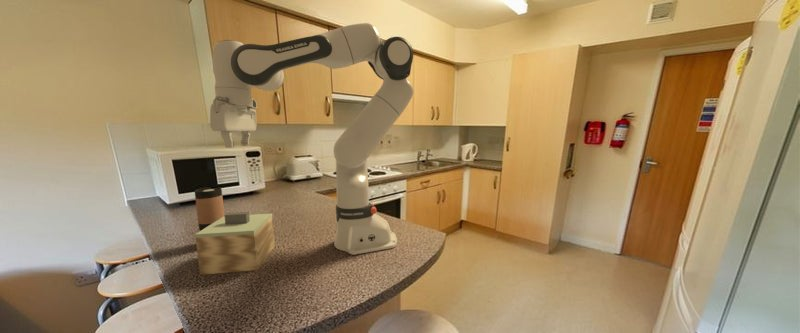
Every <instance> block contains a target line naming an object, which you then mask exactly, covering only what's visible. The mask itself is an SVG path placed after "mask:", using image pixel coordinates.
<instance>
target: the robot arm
mask: <svg viewBox="0 0 800 333" xmlns="http://www.w3.org/2000/svg"><path fill="white" fill-rule="evenodd" d="M413 59H414V50H413V47H412V44H411V43H410V42H409V40H407V39H406V38H404V37H402V36H391V37H389V38H387V39H386V40H383V39H382V38H381V36H380V33H379V31H378V30H377V28H376V27H375V25H373V24H371V23H369V22H364V23H361V22H360V23H354V24H349V25H345V26H341V27H338V28H334V29H331V30H329V31H326V32H325V31H324V32H323V33H318V34H314V35H311V36H305V37H301V38H295V39H292V40H288V41H284V42H279V43H275V44H268V45H267V44H264V45H261V44H256V43H247V44H245V43H243V42H241V41H238V40H232V39H226V40H225V39H224V40H220V41H218V42H216V43H215V44H214V47H213V50H212V70H213V71H212V73H213V75H214V77H215V84H214V94H215V98H214V99H213V100H212V103H211V105H210V108H209V110H210V112H209V120H210V121H209V123H210V128H211V130H212V131H214V132H220V135H221V138H222V140H223V142H224V147H225V148H226V149H230V148H231V149H232V148H234V147H235V141H234V140H233V138H232V136H233V132H240V134H241V140H240V145H241V147H244V146H245V147H246V146H249V145H250V137H251V132H256V130H257V125H258V124H257V122H258V121H257V111H256V109H258V104H257V103H258V102H257V101H256V100H255V99H254V98H253V95H252V90H251V89H253V88H256V89H260V90H263V91H266V92H267V91H268V92H269V91H277V90H278V89H280V87H282V85H283V84H284V82H285V74H284V71H285V70H289V69H292V68H296V67H299V66H304V65H307V64H319V65H322V66H325V67H327V68H329V69H331V70H332V69H334V70H338V69H343V68H347V67H350V66H353V65H357V64H359V63H362V62H367V63H368V65H369V67H370V68H371V69H372V71H373V72H374V74H376V76H377V77H378V78H379V79H381V80H383V81H382V85H381V87H380V88H379V89H378V90H377V92H375V94H374V95H373V96H372V98H371V99H370V100H369V102H367V103H366V104H365V106H364V107H363V108H362V109H361V111H360V112H359V113H358V114H357V116H355V118H354V120H352V122H351V123H350V124H349V126H347V128H345V130H344V132H343V133H342V134H341V135H339V138H337V140H336V142H335V143H334V146H333V155H334V158H335V164H336V168H335V169H336V171H335V172H336V173H335V176H336V177H335V180H336V182H335V184H336V186H335V187H336V206H335V218H336V223H337V224H336V233H335V238H334V242H333V244H334V245H333V246H334V247H335V248H336V249H338V250H339V251H343V252H346V253H347V254H348V255H349V254H350V255H352V256H353V255H361V254H365V253H372V252H377V251H382V250H389V249H393V248H395V247H397V245H398V238H397V235H396V233H395V232H393V231H392V230H391V227H390V224H389V223H388V221H387V220H386V219H385V218H383V217H382V216H380V215H379V214H377V207H376V206H375V205H374V203H373V202H372V203H371V202H370V198H369V197H370V196H369V195H370V194H369V174H368V173H369V172H368V158H369V157H370V156H371V155H372V153H373V151H374V150H375V149H376V148H377V146H378V145H379V143H380V142H381V141H382V139H383V138H384V137H385V135H386V134H387V133H388V132H389V130H390V129H391V127H392V126H393V125H394V124H395V122H396V121H397V120H399V118H400V116H401V115H402V114H403V112H404V111H405V110H406V108H407V106H408V105H409V103H410V102H411V100H412V98H413V95H414V88H413V85H412V83H411V82H410V81H409V80H408V79H407V78H409V77H410V75H411V70H412V65H413V61H414V60H413Z"/></svg>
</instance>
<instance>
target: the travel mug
mask: <svg viewBox="0 0 800 333" xmlns="http://www.w3.org/2000/svg"><path fill="white" fill-rule="evenodd" d="M222 191H223V190H222V187H220V186H217V187H216V188H211V187H203V188H198V189H196V190H194V196H195V206H196V207H195V208H196V215H197V224H198V229H199V232H200V231H201V230H203V229H204V228H206V227H208V226H209V225H211V224H212V223H214V222H216V221H217V220H219V219H220V218H222V217H224V215H225V214H226V213H225V207H224V198H223V192H222Z"/></svg>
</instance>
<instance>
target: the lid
mask: <svg viewBox="0 0 800 333" xmlns="http://www.w3.org/2000/svg"><path fill="white" fill-rule="evenodd" d="M224 214H225V215H224V217H222V218H220V219H219V220H217V221H216V222H214V223H212V224H211V225H209V226H208V227H206V228H204V229H203V230H201V231H200V230H199V231H198V232H197V233H195V234H194V239H195V238H200V237H216V236H231V235H246V234H255V233H256V232H257V231H258V230H259V229H260V228H261V227H262V226H263V225H264V224H265V223H266V222H267V221H268V220H269V219H270V218H271V217H272V218H273V213H260V214H259V213H257V214H255V213H254V214H250V212H249V211H243V212H241V211H240V212H228V213H224Z"/></svg>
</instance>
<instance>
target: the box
mask: <svg viewBox="0 0 800 333" xmlns="http://www.w3.org/2000/svg"><path fill="white" fill-rule="evenodd" d="M273 221H274V219H273V216H272V217H271V218H270V219H269V220H268V221H267V222H266V223H265V224H264V225H263V226H262V227H261V228H260V229H259V230H258V231H257V232H256V233H255V234H246V235H231V236H216V237H200V238H195V237H194V239H195V246H196V253H197V259H198V260H197V261H198V268H199V275H200V276H204V275H215V274H216V275H217V274H227V273H237V272H249V271H258V270H259V269H260V267H261V266H262V265H263V263H265V261H266V259H267V258H268V256H269V255H270V254H271V253H272V251H273V249H274V248H275V247H276V246H275V245H276V243H275V233H274V232H275V231H274V222H273Z"/></svg>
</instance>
